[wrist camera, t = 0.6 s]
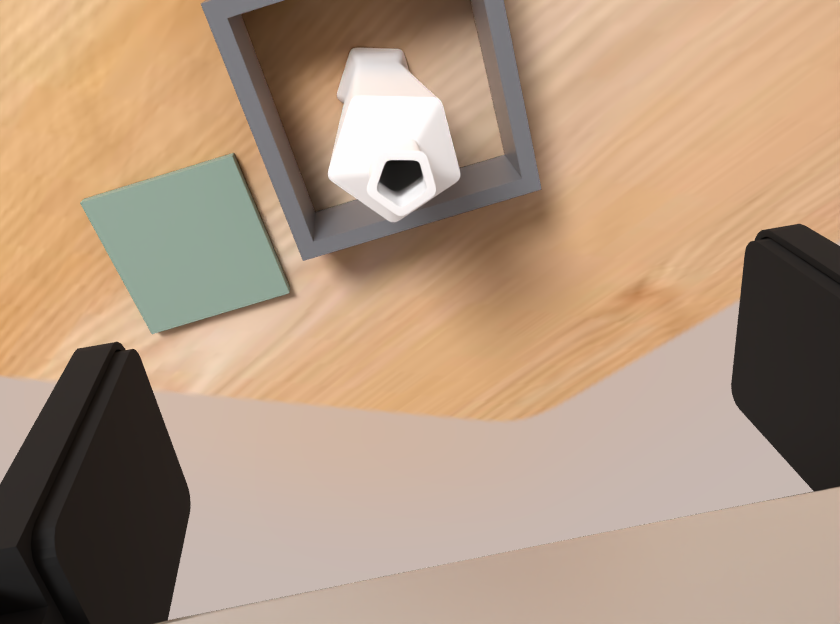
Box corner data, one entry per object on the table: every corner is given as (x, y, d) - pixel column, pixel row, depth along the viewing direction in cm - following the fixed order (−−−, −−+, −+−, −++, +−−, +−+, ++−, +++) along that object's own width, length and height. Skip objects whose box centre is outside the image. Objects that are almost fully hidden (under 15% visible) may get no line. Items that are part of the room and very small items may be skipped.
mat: (233, 152, 36) (232, 156, 35) (290, 288, 40) (289, 293, 39) (83, 198, 36) (80, 203, 36) (154, 328, 40) (151, 334, 40)
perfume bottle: (406, 144, 37) (446, 268, 24) (323, 115, 36) (317, 229, 22) (438, 55, 35) (502, 136, 22) (351, 22, 34) (363, 87, 21)
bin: (469, -86, 32) (486, -87, 29) (522, 164, 38) (541, 189, 34) (215, -6, 32) (200, 3, 29) (305, 229, 38) (303, 260, 35)
